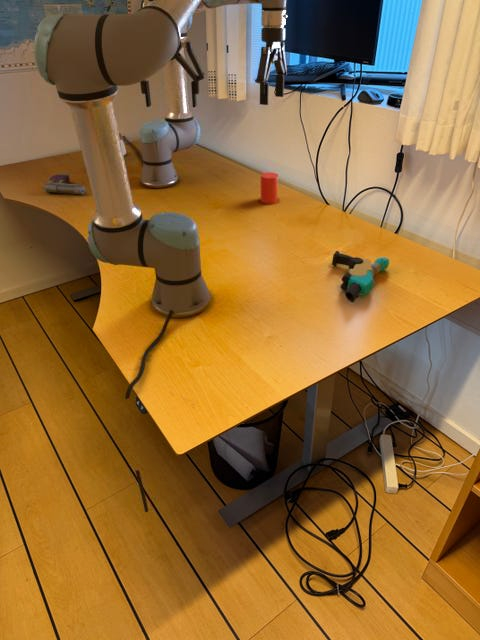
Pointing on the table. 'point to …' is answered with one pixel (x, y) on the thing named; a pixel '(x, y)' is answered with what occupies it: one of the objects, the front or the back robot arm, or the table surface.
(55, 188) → the toy gun
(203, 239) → the table surface
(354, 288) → the toy gun
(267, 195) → the canister
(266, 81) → the back robot arm
